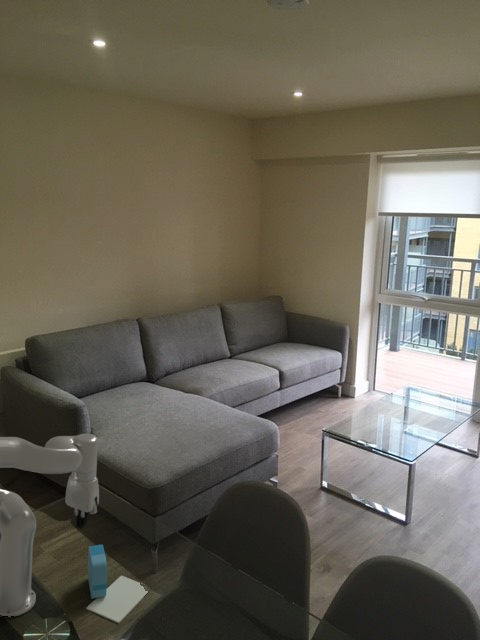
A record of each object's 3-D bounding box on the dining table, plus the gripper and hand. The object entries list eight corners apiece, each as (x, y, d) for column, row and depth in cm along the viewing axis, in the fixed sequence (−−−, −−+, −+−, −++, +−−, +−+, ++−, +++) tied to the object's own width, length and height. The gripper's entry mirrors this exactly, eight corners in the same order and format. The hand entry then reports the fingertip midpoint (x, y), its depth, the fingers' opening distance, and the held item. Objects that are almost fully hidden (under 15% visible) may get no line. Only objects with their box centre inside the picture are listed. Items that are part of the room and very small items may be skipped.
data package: (106, 598, 168) (107, 563, 166) (91, 601, 166) (91, 565, 165) (101, 575, 179) (102, 542, 177) (87, 578, 178) (88, 544, 176)
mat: (86, 609, 164) (86, 607, 163) (121, 576, 180) (121, 575, 180) (118, 623, 159) (118, 622, 159) (151, 589, 175) (151, 587, 175)
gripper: (57, 471, 169) (55, 524, 172) (95, 484, 164) (92, 539, 167) (73, 462, 176) (70, 514, 179) (110, 474, 170) (107, 527, 174)
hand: (81, 526), depth 173 cm, fingers closed
